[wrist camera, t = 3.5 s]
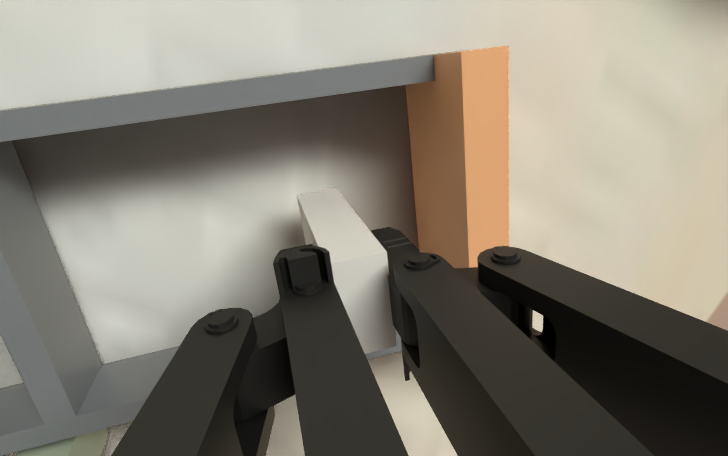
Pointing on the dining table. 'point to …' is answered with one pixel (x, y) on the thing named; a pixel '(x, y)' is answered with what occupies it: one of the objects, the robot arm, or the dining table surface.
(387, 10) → the dining table surface
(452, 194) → the drawer
